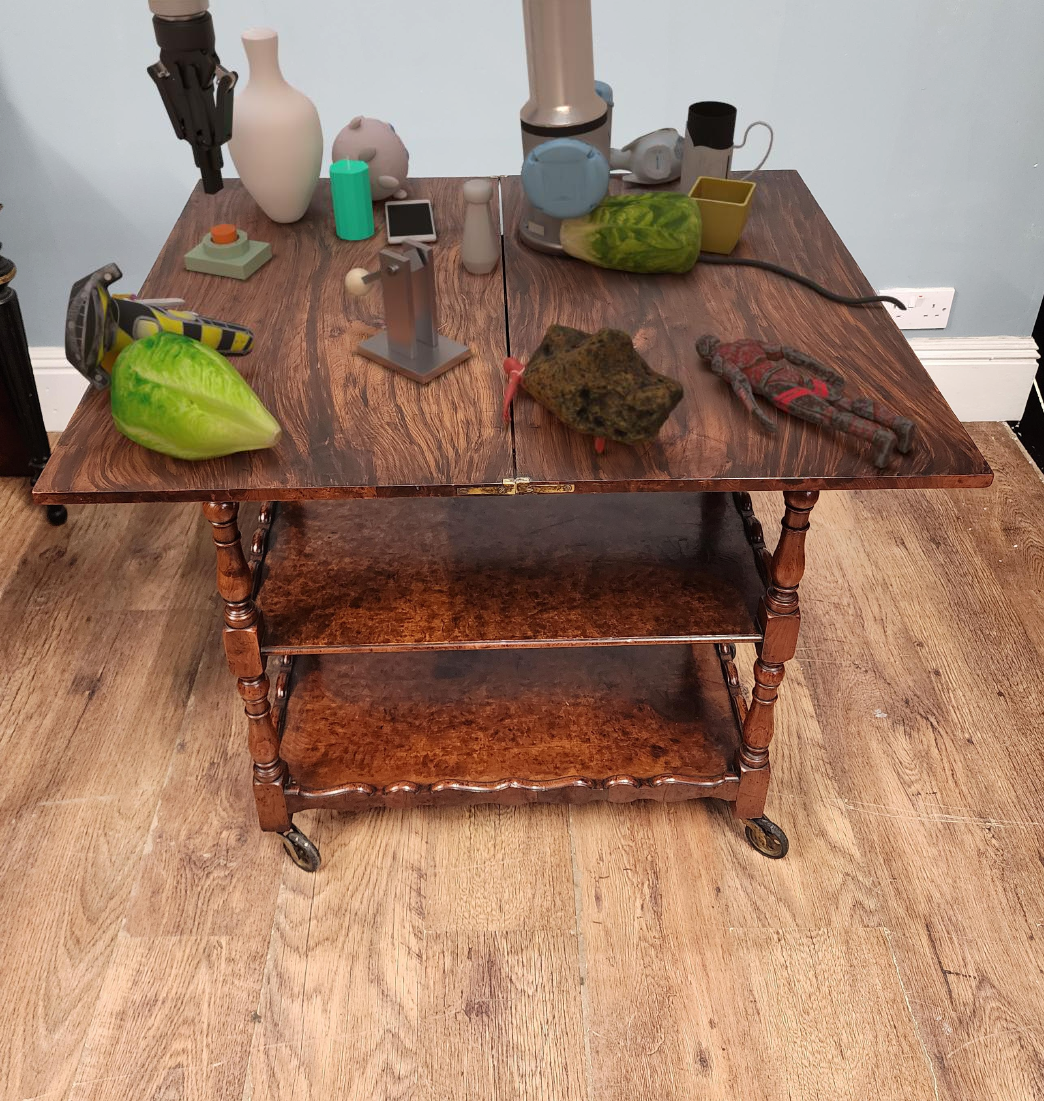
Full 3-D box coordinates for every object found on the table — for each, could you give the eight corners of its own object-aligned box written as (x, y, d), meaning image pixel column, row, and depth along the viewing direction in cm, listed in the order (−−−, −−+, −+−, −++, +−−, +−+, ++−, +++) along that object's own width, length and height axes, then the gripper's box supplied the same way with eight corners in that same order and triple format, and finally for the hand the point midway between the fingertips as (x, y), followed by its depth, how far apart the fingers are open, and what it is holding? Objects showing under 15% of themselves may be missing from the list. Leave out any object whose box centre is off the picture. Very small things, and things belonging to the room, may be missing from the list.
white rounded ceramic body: (712, 133, 177) (700, 122, 186) (597, 132, 176) (590, 121, 184) (706, 187, 182) (694, 174, 190) (594, 187, 180) (587, 173, 189)
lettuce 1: (258, 509, 126) (230, 476, 115) (110, 440, 128) (68, 400, 117) (314, 409, 129) (293, 367, 118) (169, 343, 132) (134, 296, 120)
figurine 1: (664, 419, 131) (550, 349, 141) (667, 394, 128) (552, 325, 139) (569, 473, 123) (456, 395, 133) (571, 448, 120) (455, 371, 131)
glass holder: (680, 189, 182) (689, 97, 172) (765, 198, 179) (779, 105, 169) (671, 210, 175) (680, 116, 166) (759, 220, 172) (773, 124, 163)
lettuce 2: (561, 244, 165) (560, 176, 157) (697, 245, 164) (703, 176, 156) (557, 288, 158) (557, 219, 149) (700, 289, 156) (707, 219, 148)
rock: (619, 359, 109) (499, 301, 122) (608, 464, 115) (494, 398, 128) (709, 336, 116) (586, 283, 129) (693, 435, 122) (578, 376, 135)
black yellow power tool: (294, 293, 130) (248, 284, 137) (82, 258, 111) (40, 249, 118) (279, 408, 133) (235, 394, 140) (70, 393, 114) (30, 378, 121)
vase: (303, 244, 166) (275, 52, 148) (223, 229, 170) (187, 40, 152) (348, 208, 176) (327, 24, 158) (272, 195, 180) (243, 14, 162)
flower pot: (680, 254, 164) (685, 197, 158) (693, 231, 170) (699, 174, 164) (737, 263, 161) (745, 205, 156) (749, 239, 168) (757, 182, 162)
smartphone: (387, 241, 166) (384, 201, 177) (388, 245, 166) (384, 205, 177) (436, 238, 166) (430, 198, 178) (437, 242, 167) (430, 202, 178)
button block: (272, 256, 164) (268, 231, 161) (245, 280, 158) (240, 254, 155) (215, 247, 166) (210, 222, 164) (186, 269, 161) (180, 244, 158)
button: (242, 237, 160) (240, 226, 159) (229, 247, 158) (227, 236, 157) (221, 233, 161) (219, 222, 160) (208, 243, 159) (205, 232, 158)
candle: (368, 242, 167) (360, 165, 159) (331, 238, 168) (321, 162, 160) (379, 225, 172) (372, 150, 164) (343, 222, 173) (335, 147, 165)
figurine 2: (930, 436, 128) (732, 340, 144) (941, 401, 124) (737, 307, 141) (858, 487, 120) (658, 379, 137) (867, 451, 117) (662, 345, 134)
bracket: (357, 353, 142) (345, 248, 132) (405, 327, 147) (397, 223, 138) (423, 385, 136) (415, 277, 127) (471, 356, 142) (467, 250, 132)
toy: (380, 112, 165) (377, 88, 177) (313, 151, 167) (314, 124, 179) (427, 195, 173) (420, 167, 185) (363, 231, 175) (360, 200, 187)
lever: (347, 303, 142) (335, 277, 141) (367, 293, 145) (355, 267, 143) (409, 279, 132) (396, 251, 131) (430, 269, 134) (417, 241, 133)
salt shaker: (485, 280, 158) (482, 194, 149) (452, 271, 160) (448, 185, 151) (506, 265, 161) (505, 179, 153) (474, 256, 164) (472, 171, 155)
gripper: (240, 9, 140) (267, 187, 156) (154, 0, 144) (189, 174, 159) (208, 25, 135) (240, 207, 150) (120, 15, 138) (160, 194, 154)
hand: (214, 190), depth 155 cm, fingers closed
